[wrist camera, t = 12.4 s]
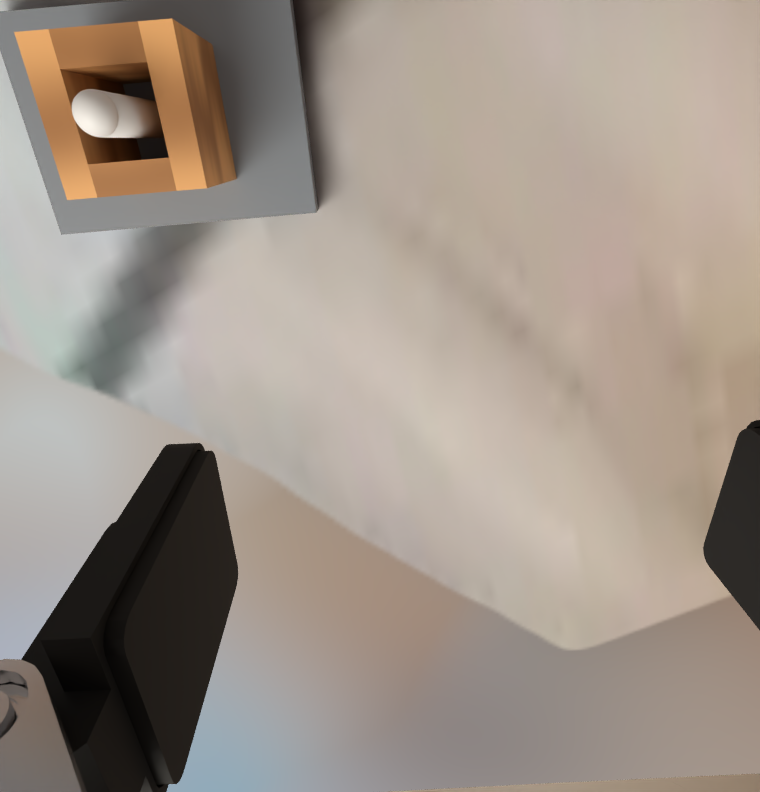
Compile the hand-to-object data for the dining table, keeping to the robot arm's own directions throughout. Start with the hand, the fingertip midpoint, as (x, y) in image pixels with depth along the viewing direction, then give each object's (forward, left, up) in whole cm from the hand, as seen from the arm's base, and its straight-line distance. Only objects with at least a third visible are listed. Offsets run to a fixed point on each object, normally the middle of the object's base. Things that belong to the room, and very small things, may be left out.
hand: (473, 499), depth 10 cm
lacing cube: (-8, -11, -23) cm, 26 cm away
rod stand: (-8, -11, -24) cm, 28 cm away
